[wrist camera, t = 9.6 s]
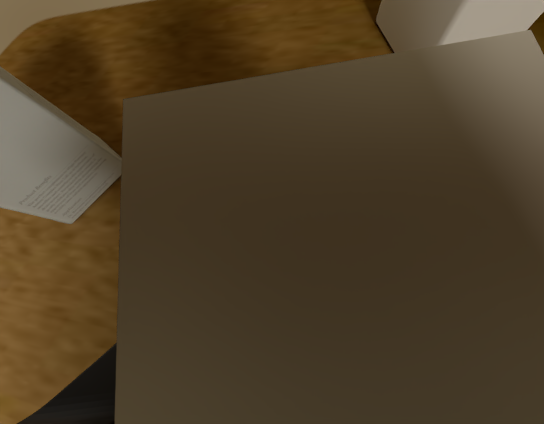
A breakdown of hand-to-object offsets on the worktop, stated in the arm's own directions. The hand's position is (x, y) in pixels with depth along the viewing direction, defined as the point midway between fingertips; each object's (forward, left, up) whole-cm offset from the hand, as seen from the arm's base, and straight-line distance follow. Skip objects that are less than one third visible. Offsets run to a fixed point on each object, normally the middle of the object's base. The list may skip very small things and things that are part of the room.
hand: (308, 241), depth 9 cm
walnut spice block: (-1, 0, -7) cm, 7 cm away
